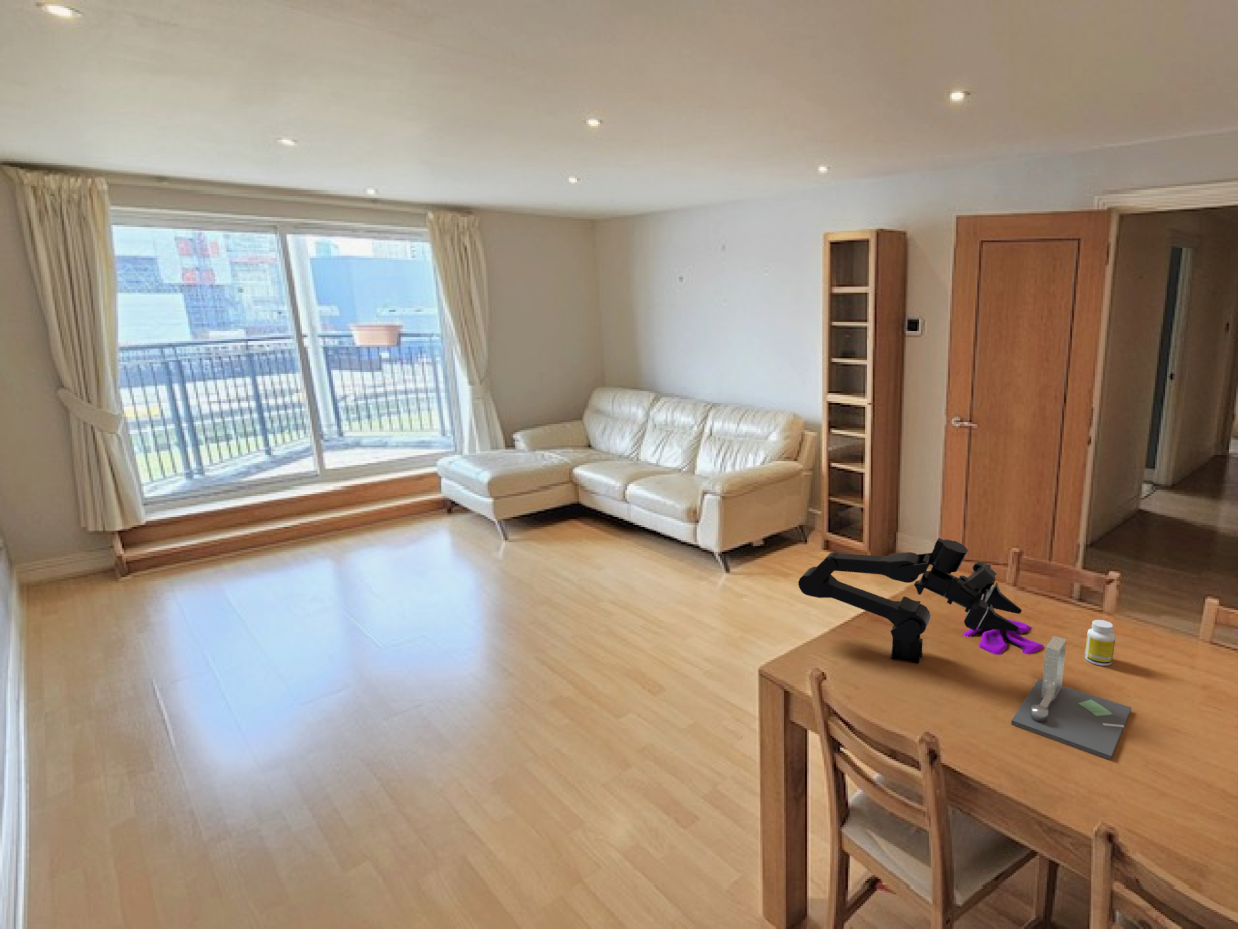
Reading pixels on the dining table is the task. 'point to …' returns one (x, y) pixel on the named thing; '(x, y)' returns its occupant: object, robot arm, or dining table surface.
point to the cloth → (1005, 639)
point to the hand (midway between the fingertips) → (1019, 620)
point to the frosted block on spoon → (1050, 677)
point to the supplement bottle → (1100, 643)
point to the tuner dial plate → (1076, 720)
